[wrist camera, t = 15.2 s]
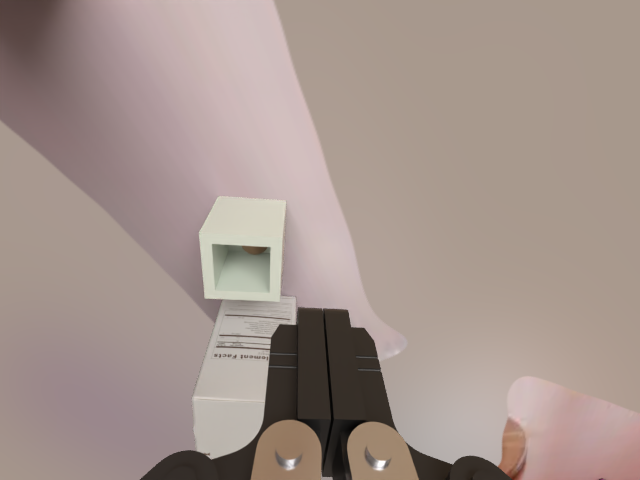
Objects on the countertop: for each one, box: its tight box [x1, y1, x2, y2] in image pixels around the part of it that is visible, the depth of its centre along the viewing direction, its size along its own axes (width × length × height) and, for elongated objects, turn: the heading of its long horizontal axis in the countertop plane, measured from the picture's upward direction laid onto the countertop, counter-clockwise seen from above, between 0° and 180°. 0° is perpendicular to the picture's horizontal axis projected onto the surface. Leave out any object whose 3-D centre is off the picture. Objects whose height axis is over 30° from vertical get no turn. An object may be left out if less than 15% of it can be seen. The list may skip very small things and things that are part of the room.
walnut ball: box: [242, 246, 268, 255], centre depth 37 cm, size 3×3×3 cm
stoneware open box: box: [199, 196, 286, 302], centre depth 36 cm, size 7×7×8 cm
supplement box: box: [192, 296, 296, 458], centre depth 39 cm, size 9×9×15 cm
